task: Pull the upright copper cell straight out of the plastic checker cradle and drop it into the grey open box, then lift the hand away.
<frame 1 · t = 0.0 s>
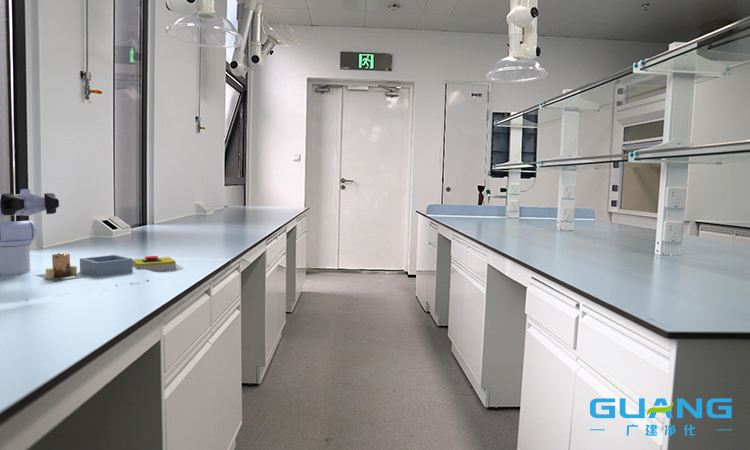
hand: (40, 203, 121), 22 cm above the lab bench, tool horizontal, fingers open, 7 cm apart
emergency button: (155, 270, 150), on the lab bench
copper cell: (61, 276, 130), point 1 cm above the lab bench, touching checker cradle
grey open box: (106, 275, 138), on the lab bench
checker cradle: (61, 280, 130), on the lab bench
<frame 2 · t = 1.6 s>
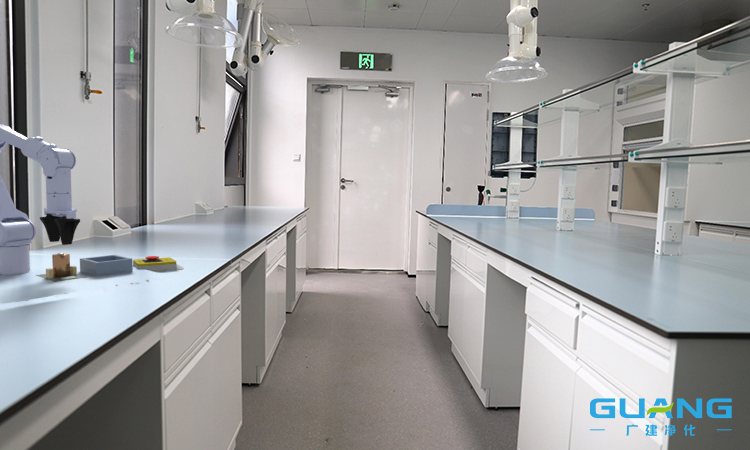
hand: (60, 243, 129), 10 cm above the lab bench, tool pointing down, fingers open, 7 cm apart
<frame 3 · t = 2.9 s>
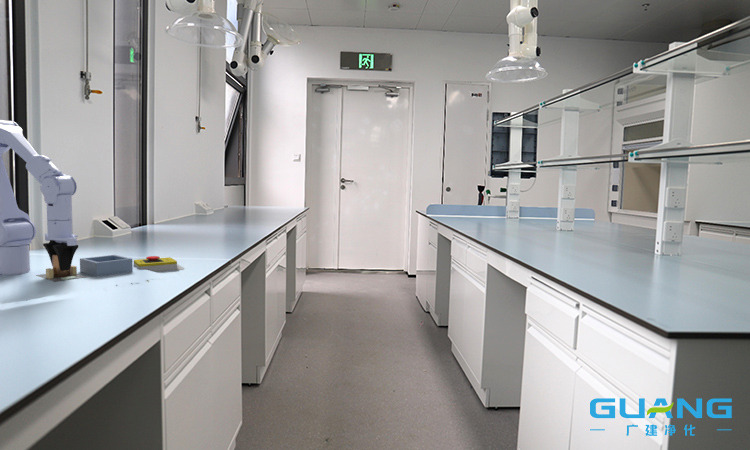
hand: (61, 268, 130), 3 cm above the lab bench, tool pointing down, fingers closed on copper cell, 4 cm apart
copper cell: (61, 276, 130), point 1 cm above the lab bench, touching checker cradle, gripper
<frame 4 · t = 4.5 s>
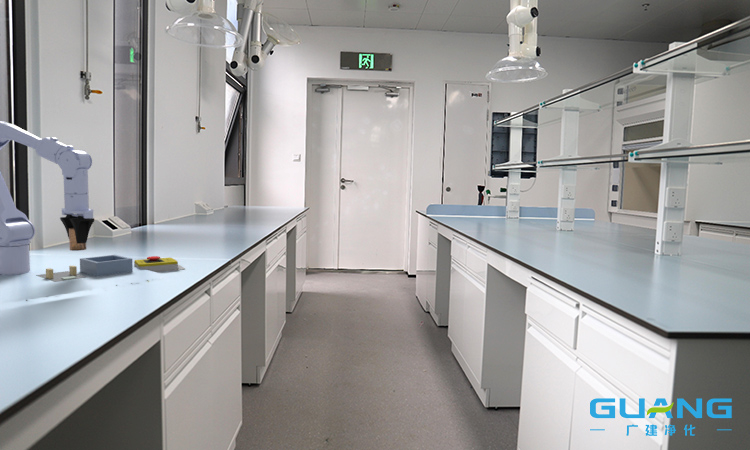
hand: (78, 242, 132), 10 cm above the lab bench, tool pointing down, fingers closed on copper cell, 4 cm apart
copper cell: (78, 249, 132), point 8 cm above the lab bench, touching gripper
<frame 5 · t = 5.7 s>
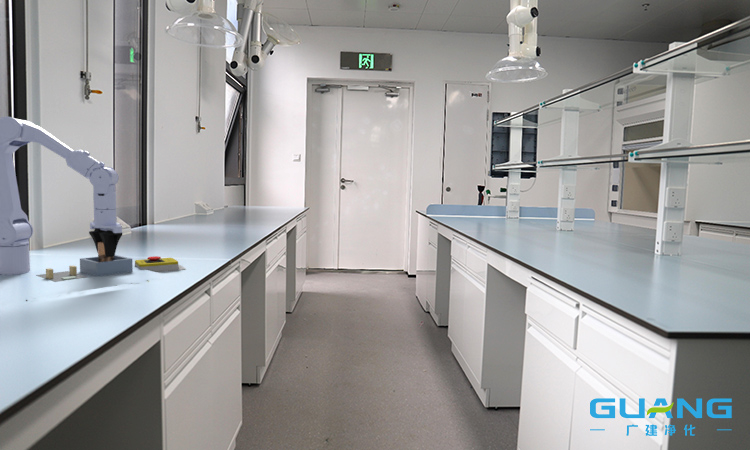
hand: (106, 255, 137), 6 cm above the lab bench, tool pointing down, fingers closed on copper cell, 4 cm apart
copper cell: (106, 262, 138), point 4 cm above the lab bench, touching gripper
when the fingers open (5 cm above the lab bench, at t = 6.2 s): copper cell drops 3 cm, resting on grey open box.
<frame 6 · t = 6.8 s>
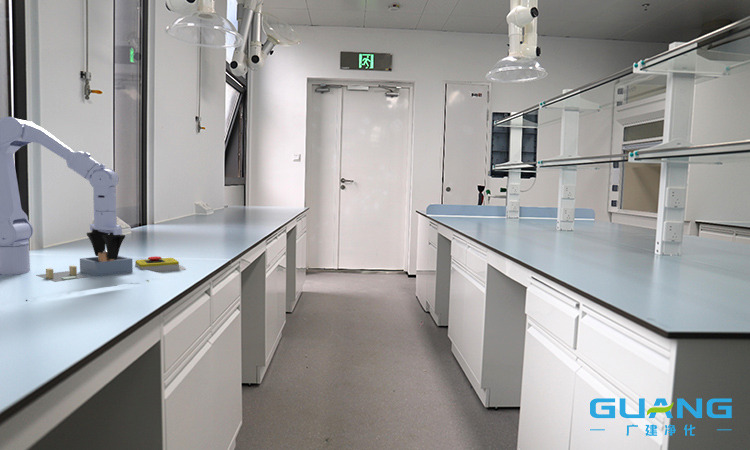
hand: (106, 257, 137), 5 cm above the lab bench, tool pointing down, fingers open, 7 cm apart
copper cell: (106, 272, 138), point 1 cm above the lab bench, touching grey open box
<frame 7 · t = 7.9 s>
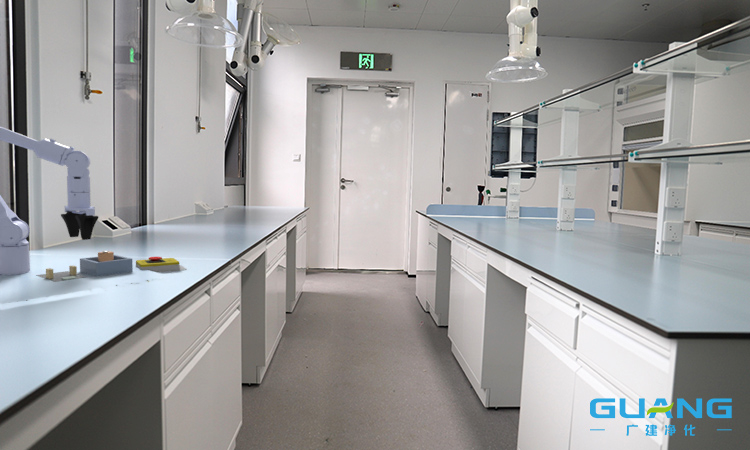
hand: (80, 238, 140), 10 cm above the lab bench, tool pointing down, fingers open, 7 cm apart
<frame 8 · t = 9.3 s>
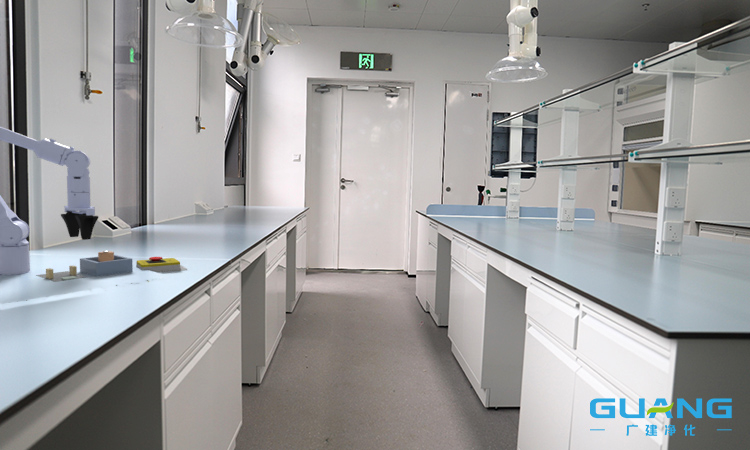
hand: (80, 238, 140), 10 cm above the lab bench, tool pointing down, fingers open, 7 cm apart
at the end: copper cell inside the target area on the grey open box (0.1 cm from its centre), point 0.8 cm above the grey open box's base; the gripper is holding nothing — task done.
